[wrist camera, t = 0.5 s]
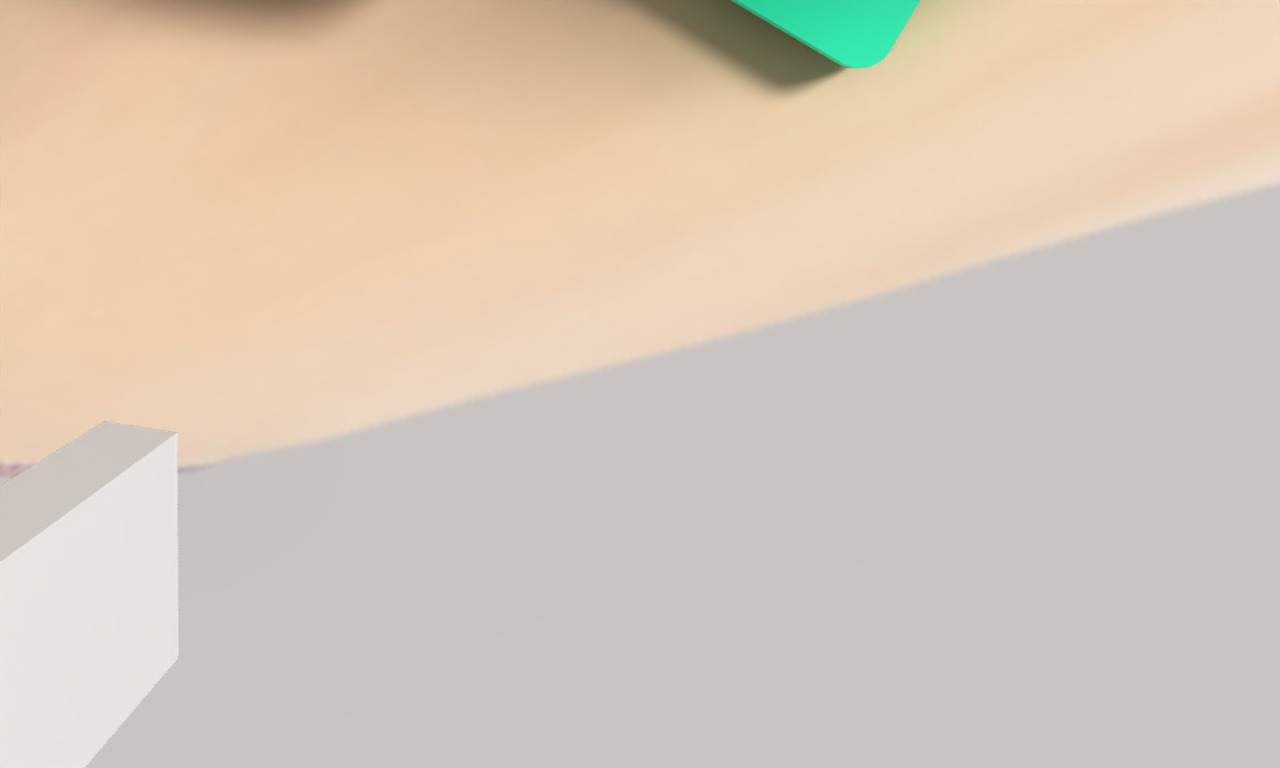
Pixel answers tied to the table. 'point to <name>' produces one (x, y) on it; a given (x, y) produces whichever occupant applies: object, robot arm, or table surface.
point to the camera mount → (838, 25)
